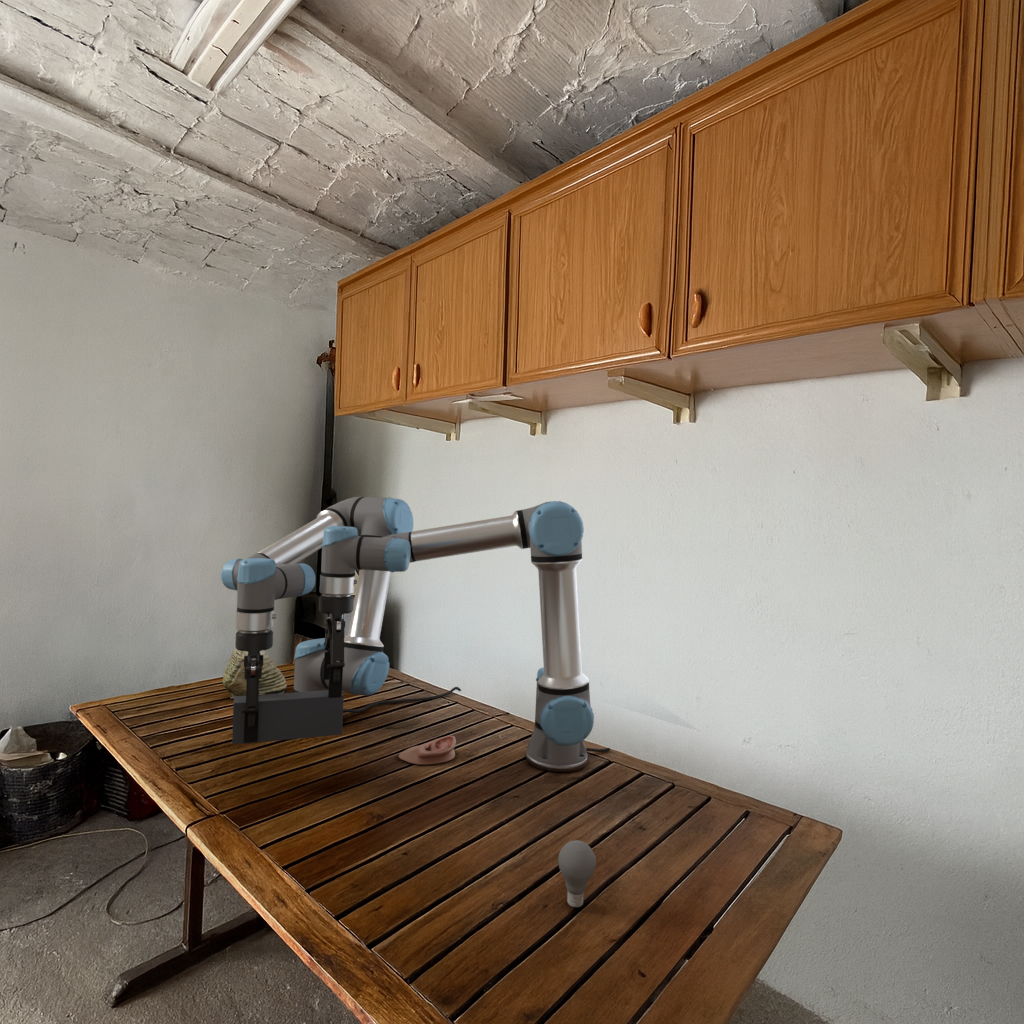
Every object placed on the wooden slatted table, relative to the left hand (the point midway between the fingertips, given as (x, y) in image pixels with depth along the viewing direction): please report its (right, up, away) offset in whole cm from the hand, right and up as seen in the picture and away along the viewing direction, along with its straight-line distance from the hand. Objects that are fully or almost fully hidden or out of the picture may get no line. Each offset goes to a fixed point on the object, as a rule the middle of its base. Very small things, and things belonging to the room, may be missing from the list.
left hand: (250, 736), depth 138 cm
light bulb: (+67, -14, -36) cm, 77 cm away
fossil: (-24, -8, +60) cm, 66 cm away
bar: (+7, -1, +3) cm, 8 cm away
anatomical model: (+36, -12, +19) cm, 42 cm away
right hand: (+16, +9, +6) cm, 19 cm away
